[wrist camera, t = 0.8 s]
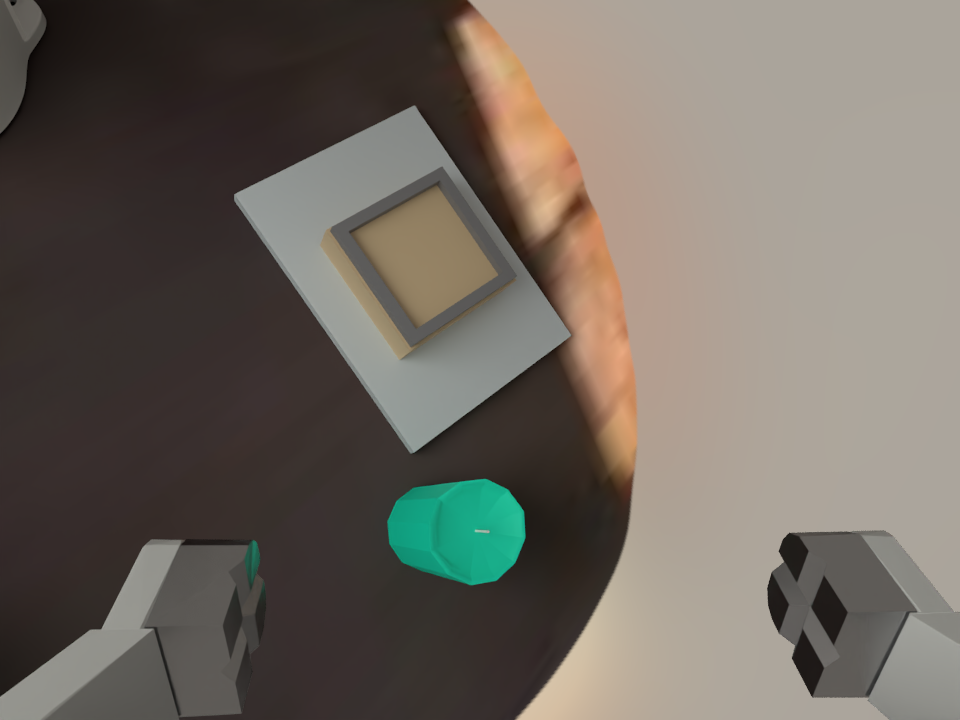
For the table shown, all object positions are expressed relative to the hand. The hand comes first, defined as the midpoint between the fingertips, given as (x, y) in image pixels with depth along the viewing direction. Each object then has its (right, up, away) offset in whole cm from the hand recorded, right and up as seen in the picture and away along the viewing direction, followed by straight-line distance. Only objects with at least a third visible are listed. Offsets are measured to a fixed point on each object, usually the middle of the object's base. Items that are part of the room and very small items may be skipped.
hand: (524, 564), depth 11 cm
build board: (-6, +10, +43) cm, 44 cm away
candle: (-4, -9, +39) cm, 40 cm away
